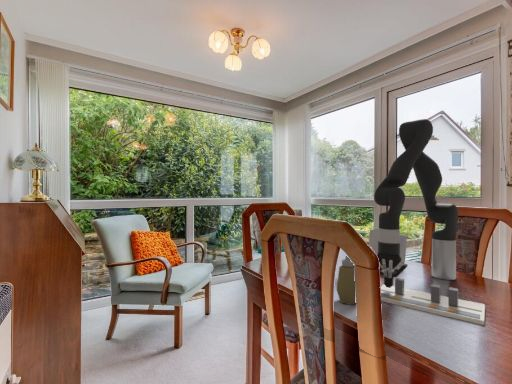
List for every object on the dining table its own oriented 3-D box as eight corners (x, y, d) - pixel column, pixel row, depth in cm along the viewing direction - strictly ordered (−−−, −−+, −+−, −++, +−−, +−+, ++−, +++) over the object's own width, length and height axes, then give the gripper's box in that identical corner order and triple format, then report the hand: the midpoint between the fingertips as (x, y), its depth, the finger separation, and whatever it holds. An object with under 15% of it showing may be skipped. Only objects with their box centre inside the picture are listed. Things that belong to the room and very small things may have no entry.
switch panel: (383, 287, 116) (383, 283, 116) (484, 307, 95) (485, 303, 95) (370, 298, 103) (370, 294, 103) (484, 325, 83) (484, 319, 83)
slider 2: (449, 301, 96) (449, 287, 96) (458, 303, 95) (458, 288, 95) (448, 304, 94) (448, 289, 94) (457, 306, 92) (457, 291, 92)
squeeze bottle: (333, 297, 104) (333, 248, 104) (354, 297, 105) (355, 247, 104) (341, 306, 96) (342, 252, 96) (365, 305, 96) (365, 252, 96)
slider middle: (432, 298, 99) (432, 284, 99) (440, 300, 98) (440, 285, 98) (430, 300, 97) (431, 286, 97) (439, 302, 95) (439, 287, 95)
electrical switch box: (410, 273, 143) (414, 233, 145) (390, 272, 137) (394, 230, 138) (385, 266, 157) (389, 229, 158) (365, 265, 150) (370, 227, 151)
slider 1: (397, 291, 106) (397, 277, 106) (404, 292, 105) (404, 278, 105) (395, 293, 104) (395, 279, 104) (402, 294, 103) (402, 280, 103)
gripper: (410, 241, 106) (410, 288, 106) (373, 237, 114) (373, 280, 114) (406, 244, 100) (405, 293, 100) (367, 239, 108) (367, 285, 108)
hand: (388, 286), depth 107 cm, fingers closed
